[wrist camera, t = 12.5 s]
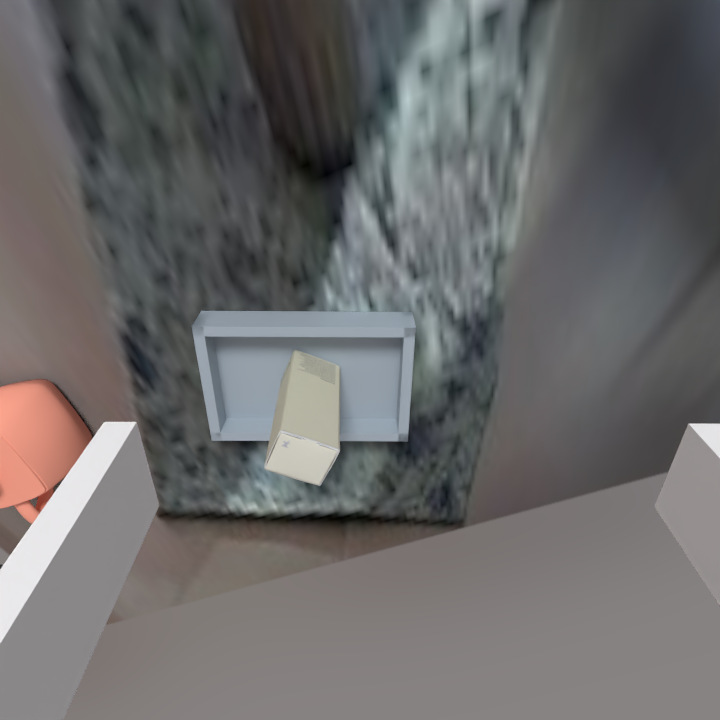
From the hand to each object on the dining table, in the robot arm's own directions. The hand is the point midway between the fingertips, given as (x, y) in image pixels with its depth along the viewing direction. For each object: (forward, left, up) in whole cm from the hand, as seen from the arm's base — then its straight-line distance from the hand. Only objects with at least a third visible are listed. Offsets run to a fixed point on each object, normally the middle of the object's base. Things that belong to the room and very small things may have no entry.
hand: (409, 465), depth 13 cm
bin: (+18, -6, -35) cm, 40 cm away
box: (+18, -6, -34) cm, 39 cm away
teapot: (+24, -36, -35) cm, 56 cm away
